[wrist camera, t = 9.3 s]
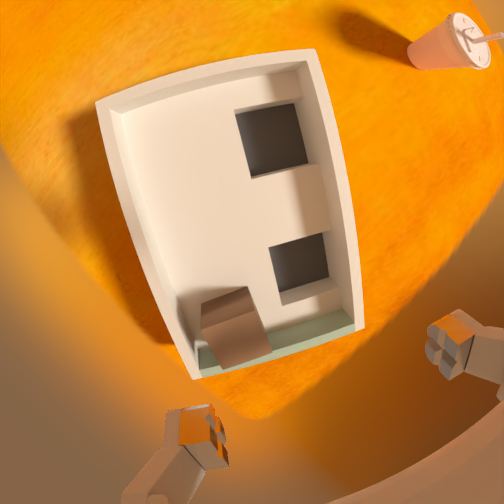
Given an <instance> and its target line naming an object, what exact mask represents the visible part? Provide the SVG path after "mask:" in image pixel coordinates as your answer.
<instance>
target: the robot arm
mask: <svg viewBox="0 0 504 504" xmlns="http://www.w3.org/2000/svg"><path fill="white" fill-rule="evenodd" d="M427 334H428V335H429V336H430V337H429V338H428V340H427V342H426V348H425V350H426V354H427V357H428V359H429V360H430V361H431V362H432V363H433V364H435V365H439V371H440V372H441V373H442V374H443V375H444V376H445V377H446V378H447V379H448V380H451V379H452V378H454V377H455V376H457V375H458V374H460V373H462V372H463V371H465V372H466V373H469V374H472V375H475V376H478V377H480V378H483V379H486V380H489V381H492V382H494V383H497V384H500V385H501V386H500V388H499V391H498V393H497V397H498V399H499V400H500V401H501V402H500V403H499V404H498V405H497V406H496V407H495V408H494V409H493V410H492V411H490V412H489V413H488V414H487V415H486V416H484V417H483V418H482V419H481V420H480V421H478V422H477V423H476V424H474V425H473V426H472V427H470V428H469V429H468V430H467V431H465V432H464V433H463V434H461V435H460V436H458V437H457V438H456V439H454V440H453V441H451V442H450V443H448V444H447V445H445V446H444V447H442V448H441V449H439V450H438V451H436V452H435V453H433V454H431V455H430V456H428V457H426V458H425V459H423V460H421V461H420V462H418V463H416V464H414V465H413V466H411V467H409V468H407V469H405V470H403V471H401V472H400V473H398V474H396V475H394V476H392V477H390V478H388V479H386V480H383V481H381V482H379V483H377V484H375V485H373V486H370V487H368V488H366V489H363V490H361V491H358V492H356V493H353V494H351V495H348V496H346V497H343V498H340V499H337V500H335V501H332V502H329V503H326V504H504V329H502V328H496V327H490V326H487V327H484V326H482V325H481V324H480V323H478V322H477V321H476V320H474V319H473V318H472V317H470V316H469V315H467V314H466V313H465V312H463V311H462V310H459V309H457V310H456V311H454V312H452V313H451V314H449V315H447V316H445V317H443V318H441V319H440V320H438V321H436V322H434V323H433V324H431V325H430V326H429V328H428V332H427ZM225 442H226V435H225V431H224V427H223V424H222V422H221V420H220V418H219V417H217V416H215V409H214V408H213V406H212V405H211V404H206V405H200V406H194V407H187V408H182V409H175V410H168V412H167V414H166V420H165V432H164V443H163V448H159V449H158V451H157V452H156V453H155V454H154V455H153V457H152V458H151V459H150V460H149V461H148V463H147V464H146V465H145V466H144V467H143V469H142V470H141V471H140V472H139V473H138V475H137V476H136V477H135V478H134V480H133V481H132V482H131V483H130V484H129V485H128V487H127V488H126V489H125V490H124V491H123V492H122V497H121V504H188V503H189V502H190V500H191V498H192V496H193V495H194V493H195V491H196V489H197V487H198V485H199V484H200V482H201V480H202V478H203V476H204V474H205V473H206V472H205V471H207V470H212V469H219V468H224V467H229V460H228V452H227V450H226V448H225V447H224V444H225Z"/></svg>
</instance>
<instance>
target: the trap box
mask: <svg viewBox="0 0 504 504" xmlns="http://www.w3.org/2000/svg"><path fill="white" fill-rule="evenodd" d="M95 105H96V110H97V115H98V120H99V125H100V129H101V134H102V138H103V142H104V146H105V150H106V154H107V158H108V162H109V166H110V170H111V174H112V177H113V181H114V184H115V188H116V191H117V195H118V198H119V201H120V204H121V208H122V211H123V214H124V217H125V220H126V223H127V226H128V229H129V232H130V235H131V238H132V241H133V244H134V246H135V249H136V252H137V255H138V257H139V260H140V263H141V265H142V268H143V271H144V273H145V276H146V278H147V281H148V283H149V286H150V288H151V291H152V293H153V296H154V298H155V301H156V303H157V305H158V308H159V310H160V312H161V315H162V317H163V319H164V321H165V324H166V326H167V328H168V330H169V332H170V335H171V337H172V339H173V341H174V343H175V345H176V347H177V349H178V352H179V354H180V356H181V358H182V360H183V362H184V364H185V366H186V368H187V370H188V372H189V374H190V376H191V378H192V379H193V380H194V379H199V378H204V377H208V376H212V375H217V374H221V373H225V372H229V371H233V370H237V369H241V368H245V367H248V366H252V365H256V364H259V363H263V362H266V361H270V360H273V359H277V358H280V357H283V356H286V355H290V354H293V353H296V352H299V351H302V350H305V349H308V348H311V347H314V346H317V345H320V344H323V343H326V342H328V341H331V340H334V339H337V338H339V337H342V336H345V335H347V334H350V333H353V332H355V331H358V330H360V329H363V328H364V308H363V293H362V281H361V270H360V260H359V251H358V242H357V234H356V227H355V219H354V213H353V206H352V200H351V194H350V188H349V182H348V177H347V171H346V166H345V161H344V156H343V151H342V147H341V142H340V138H339V133H338V129H337V125H336V120H335V116H334V112H333V108H332V105H331V101H330V97H329V93H328V90H327V86H326V83H325V79H324V76H323V72H322V69H321V66H320V63H319V59H318V56H317V53H316V50H315V49H301V50H290V51H280V52H272V53H264V54H257V55H251V56H245V57H239V58H234V59H228V60H224V61H219V62H214V63H210V64H206V65H201V66H197V67H193V68H190V69H186V70H182V71H179V72H175V73H172V74H168V75H165V76H162V77H159V78H156V79H153V80H150V81H147V82H144V83H141V84H138V85H136V86H133V87H130V88H128V89H125V90H122V91H120V92H117V93H115V94H112V95H110V96H108V97H105V98H103V99H101V100H98V101H96V102H95ZM246 286H248V288H249V291H250V293H251V296H252V298H253V301H254V303H255V306H256V308H257V311H258V313H259V316H260V318H261V320H262V323H263V325H264V328H265V331H266V334H267V337H268V340H269V343H270V346H271V349H272V352H273V353H270V354H267V355H265V356H262V357H259V358H257V359H254V360H251V361H248V362H245V363H242V364H240V365H237V366H234V367H231V368H228V369H225V370H222V368H221V366H220V365H219V363H218V361H217V359H216V358H215V356H214V354H213V352H212V351H211V349H210V347H209V345H208V343H207V342H206V340H205V338H204V336H203V334H202V332H201V331H200V321H201V303H204V302H206V301H209V300H212V299H214V298H217V297H220V296H222V295H225V294H228V293H230V292H233V291H236V290H238V289H241V288H244V287H246Z"/></svg>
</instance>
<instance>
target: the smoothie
mask: <svg viewBox="0 0 504 504" xmlns="http://www.w3.org/2000/svg"><path fill="white" fill-rule="evenodd" d="M499 38H504V34H503V32H499V33H495V34H491V35H487V36H484V35H483V33H482V32H481V30H480V29H479V28H478V26H477V25H476V24H475V23H474V22H473V21H472V20H471V19H470V18H469V17H468V16H466V15H464V14H462V13H459V12H456V13H454V14H450V15H448V17H447V18H446V21H444V22H443V23H441V24H440V25H438V26H437V27H435V28H434V29H432V30H431V31H429V32H428V33H426V34H425V35H423V36H422V37H420V38H419V39H417V40H416V41H415V42H413V43H412V44H410V45H409V46H408V48H407V54H408V58H409V60H410V61H411V63H412V64H413V65H414V66H415V67H416V68H417V69H419V70H422V71H425V70H434V69H445V68H460V67H472V68H475V69H482V68H486V67H488V66H489V64H490V50H489V47H488V44H487V41H490V40H495V39H499Z"/></svg>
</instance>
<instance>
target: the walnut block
mask: <svg viewBox="0 0 504 504" xmlns="http://www.w3.org/2000/svg"><path fill="white" fill-rule="evenodd" d="M200 331H201V332H202V334H203V336H204V338H205V340H206V342H207V343H208V345H209V347H210V349H211V351H212V352H213V354H214V356H215V358H216V359H217V361H218V363H219V365H220V366H221V368H222V370H225V369H228V368H231V367H234V366H237V365H240V364H242V363H245V362H248V361H251V360H254V359H257V358H259V357H262V356H265V355H267V354H270V353H273V352H272V349H271V346H270V343H269V340H268V337H267V334H266V331H265V328H264V325H263V323H262V320H261V318H260V316H259V313H258V311H257V308H256V306H255V303H254V301H253V298H252V296H251V293H250V291H249V288H248V286H246V287H244V288H241V289H238V290H236V291H233V292H230V293H228V294H225V295H222V296H220V297H217V298H214V299H212V300H209V301H206V302H204V303H201V321H200Z"/></svg>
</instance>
